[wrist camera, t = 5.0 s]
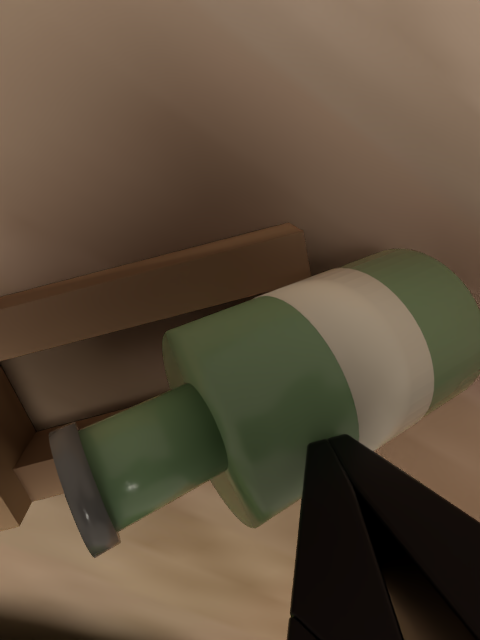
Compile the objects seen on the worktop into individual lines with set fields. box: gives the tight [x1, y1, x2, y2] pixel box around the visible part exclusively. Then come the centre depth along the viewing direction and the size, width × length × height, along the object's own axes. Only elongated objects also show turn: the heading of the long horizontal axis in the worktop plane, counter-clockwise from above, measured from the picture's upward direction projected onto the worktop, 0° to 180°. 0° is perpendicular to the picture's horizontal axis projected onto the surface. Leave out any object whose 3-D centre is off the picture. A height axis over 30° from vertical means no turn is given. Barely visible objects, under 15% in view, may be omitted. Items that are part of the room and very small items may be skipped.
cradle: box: [0, 223, 311, 531], centre depth 13 cm, size 7×12×3 cm, turn 103°
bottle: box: [49, 249, 480, 558], centre depth 10 cm, size 5×5×10 cm
